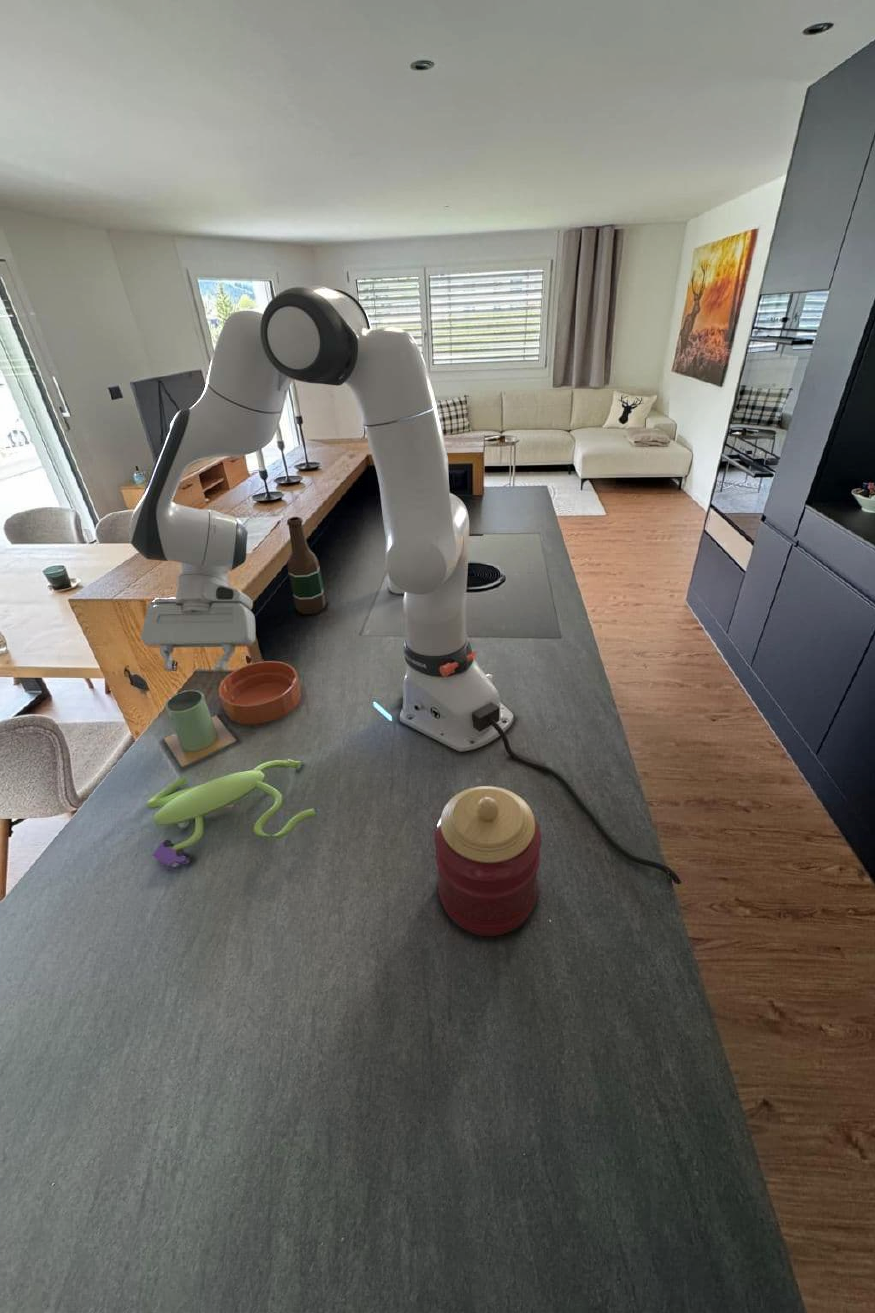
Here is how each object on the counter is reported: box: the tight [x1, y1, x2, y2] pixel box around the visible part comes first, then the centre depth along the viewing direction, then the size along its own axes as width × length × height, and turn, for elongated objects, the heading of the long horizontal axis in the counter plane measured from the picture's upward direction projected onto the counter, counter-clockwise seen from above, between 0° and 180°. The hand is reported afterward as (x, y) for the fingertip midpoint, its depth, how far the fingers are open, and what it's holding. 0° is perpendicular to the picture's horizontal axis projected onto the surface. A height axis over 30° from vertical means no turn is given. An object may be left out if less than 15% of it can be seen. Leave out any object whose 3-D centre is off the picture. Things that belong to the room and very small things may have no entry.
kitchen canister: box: [434, 785, 542, 937], centre depth 69 cm, size 13×13×18 cm
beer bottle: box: [286, 516, 326, 615], centre depth 138 cm, size 8×8×24 cm
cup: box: [164, 689, 217, 751], centre depth 99 cm, size 6×6×9 cm
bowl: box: [218, 660, 302, 726], centre depth 110 cm, size 15×15×5 cm
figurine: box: [146, 758, 316, 869], centre depth 85 cm, size 18×27×6 cm
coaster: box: [163, 714, 237, 768], centre depth 102 cm, size 10×10×1 cm
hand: (195, 670), depth 100 cm, fingers open, 8 cm apart
